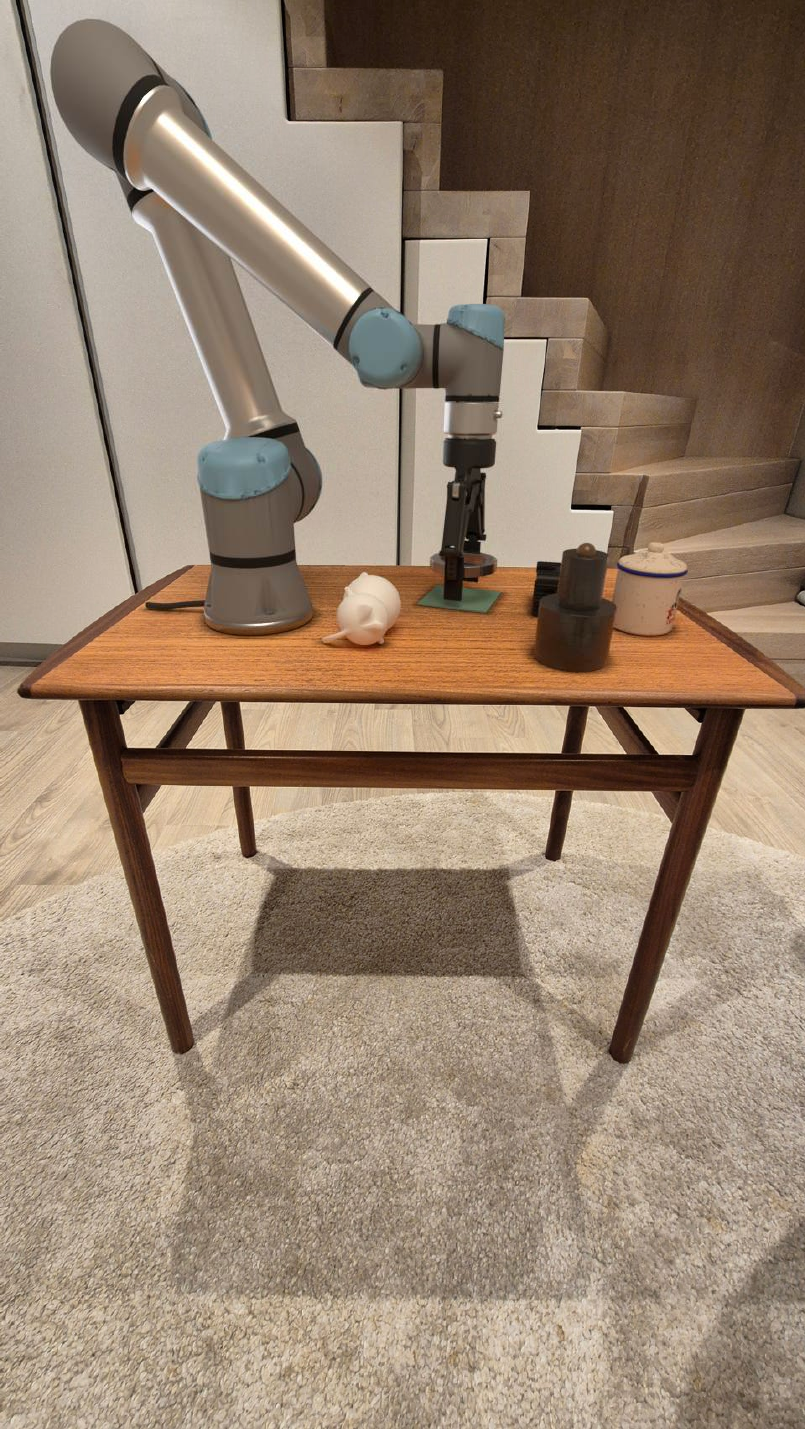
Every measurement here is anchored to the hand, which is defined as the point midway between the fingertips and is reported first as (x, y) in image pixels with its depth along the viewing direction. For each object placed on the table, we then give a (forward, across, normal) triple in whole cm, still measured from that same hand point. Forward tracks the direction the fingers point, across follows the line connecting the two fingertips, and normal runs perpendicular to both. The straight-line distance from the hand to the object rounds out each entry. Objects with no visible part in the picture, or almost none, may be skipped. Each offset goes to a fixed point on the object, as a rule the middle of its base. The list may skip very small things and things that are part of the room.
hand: (461, 590), depth 95 cm
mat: (+1, 0, 0) cm, 1 cm away
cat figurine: (+2, -22, +8) cm, 23 cm away
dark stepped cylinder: (+2, -18, -19) cm, 26 cm away
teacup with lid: (+2, -2, -27) cm, 27 cm away
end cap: (+2, 0, -15) cm, 15 cm away
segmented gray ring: (-3, 0, 0) cm, 3 cm away
